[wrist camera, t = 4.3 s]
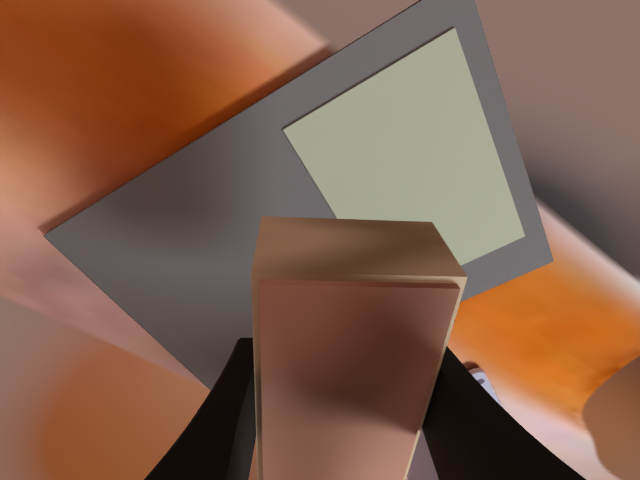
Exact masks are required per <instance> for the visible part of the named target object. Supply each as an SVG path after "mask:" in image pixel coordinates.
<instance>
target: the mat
mask: <svg viewBox="0 0 640 480" xmlns="http://www.w3.org/2000/svg"><path fill="white" fill-rule="evenodd" d="M261 216H274V217H303V218H332V219H361V220H390V221H419V222H432V223H433V224H434V226H435V227H436V229H437V230H438V232H439V233H440V235H441V237H442V238H443V240H444V241H445V243H446V244H447V246H448V247H449V249H450V250H451V252H452V253H453V255H454V257H455V258H456V260H457V261H458V263H459V264H460V266H461V267H462V269H463V270H464V272H465V273H466V275H467V277H468V278H467V281H466V284H465V287H464V291H463V294H462V297H461V301H464V300H466V299H468V298H470V297H473V296H475V295H477V294H480V293H482V292H484V291H486V290H489V289H491V288H493V287H496V286H498V285H500V284H503V283H505V282H507V281H509V280H512V279H514V278H516V277H519V276H521V275H523V274H526V273H528V272H530V271H532V270H535V269H537V268H539V267H542V266H544V265H546V264H549V263H551V262H553V257H552V254H551V251H550V248H549V244H548V241H547V238H546V234H545V231H544V228H543V225H542V221H541V218H540V215H539V211H538V208H537V205H536V202H535V198H534V195H533V192H532V188H531V185H530V183H529V178H528V175H527V172H526V169H525V165H524V162H523V159H522V156H521V152H520V149H519V146H518V142H517V139H516V136H515V133H514V129H513V126H512V123H511V119H510V116H509V113H508V109H507V106H506V103H505V100H504V96H503V93H502V90H501V86H500V83H499V80H498V77H497V73H496V70H495V67H494V64H493V60H492V57H491V54H490V50H489V47H488V44H487V40H486V37H485V34H484V31H483V27H482V24H481V21H480V17H479V14H478V11H477V7H476V4H475V1H474V0H419V1H418V2H416V3H415V4H413V5H412V6H410V7H408V8H407V9H405V10H403V11H402V12H400V13H398V14H397V15H395V16H394V17H392V18H391V19H389V20H388V21H386V22H384V23H383V24H381V25H379V26H378V27H376V28H374V29H373V30H371V31H370V32H368V33H367V34H365V35H363V36H362V37H360V38H358V39H357V40H355V41H354V42H352V43H350V44H349V45H347V46H346V47H344V48H342V49H341V50H339V51H337V52H336V53H334V54H333V55H331V56H329V57H328V58H326V59H325V60H323V61H321V62H320V63H318V64H317V65H315V66H313V67H312V68H310V69H309V70H307V71H305V72H304V73H302V74H301V75H299V76H297V77H296V78H294V79H293V80H291V81H289V82H288V83H286V84H285V85H283V86H281V87H280V88H278V89H276V90H275V91H273V92H272V93H270V94H268V95H267V96H265V97H264V98H262V99H260V100H259V101H257V102H256V103H254V104H252V105H251V106H249V107H248V108H246V109H244V110H243V111H241V112H240V113H238V114H236V115H235V116H233V117H232V118H230V119H228V120H227V121H225V122H224V123H222V124H220V125H219V126H217V127H215V128H214V129H212V130H211V131H209V132H207V133H206V134H204V135H203V136H201V137H199V138H198V139H196V140H195V141H193V142H191V143H190V144H188V145H187V146H185V147H183V148H182V149H180V150H179V151H177V152H175V153H174V154H172V155H171V156H169V157H167V158H166V159H164V160H162V161H161V162H159V163H158V164H156V165H154V166H153V167H151V168H150V169H148V170H146V171H145V172H143V173H142V174H140V175H138V176H137V177H135V178H134V179H132V180H130V181H129V182H127V183H126V184H124V185H122V186H121V187H119V188H118V189H116V190H114V191H113V192H111V193H110V194H108V195H106V196H105V197H103V198H101V199H100V200H98V201H97V202H95V203H93V204H92V205H90V206H89V207H87V208H85V209H84V210H82V211H81V212H79V213H77V214H76V215H74V216H73V217H71V218H69V219H68V220H66V221H65V222H63V223H61V224H60V225H58V226H57V227H55V228H53V229H52V230H50V231H49V232H47V233H46V234H45V235H44V237H45V238H46V239H47V240H48V241H49V242H50V243H51V244H52V245H53V246H54V247H56V248H57V249H58V250H59V251H60V252H61V253H62V254H63V255H64V256H65V257H66V258H67V259H69V260H70V261H71V262H72V263H73V264H74V265H75V266H76V267H77V268H78V269H79V270H81V271H82V272H83V273H84V274H85V275H86V276H87V277H88V278H89V279H90V280H91V281H92V282H94V283H95V284H96V285H97V286H98V287H99V288H100V289H101V290H102V291H103V292H104V293H106V294H107V295H108V296H109V297H110V298H111V299H112V300H113V301H114V302H115V303H116V304H117V305H119V306H120V307H121V308H122V309H123V310H124V311H125V312H126V313H127V314H128V315H129V316H131V317H132V318H133V319H134V320H135V321H136V322H137V323H138V324H139V325H140V326H141V327H142V328H144V329H145V330H146V331H147V332H148V333H149V334H150V335H151V336H152V337H153V338H154V339H155V340H157V341H158V342H159V343H160V344H161V345H162V346H163V347H164V348H165V349H166V350H167V351H169V352H170V353H171V354H172V355H173V356H174V357H175V358H176V359H177V360H178V361H179V362H180V363H182V364H183V365H184V366H185V367H186V368H187V369H188V370H189V371H190V372H191V373H192V374H194V375H195V376H196V377H197V378H198V379H199V380H200V381H201V382H202V383H203V384H204V385H205V386H207V387H208V388H209V389H210V390H212V388H213V386H214V385H215V383H216V381H217V380H218V378H219V376H220V375H221V373H222V371H223V369H224V367H225V365H226V364H227V362H228V360H229V358H230V356H231V354H232V352H233V349H234V347H235V345H236V342H237V340H238V339H240V338H253V320H252V287H251V269H252V264H253V258H254V253H255V248H256V242H257V237H258V232H259V226H260V221H261ZM461 301H460V302H461Z"/></svg>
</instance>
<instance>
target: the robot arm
mask: <svg viewBox="0 0 640 480" xmlns="http://www.w3.org/2000/svg"><path fill="white" fill-rule="evenodd" d="M255 439H256V416H255V384H254V352H253V338H240V339H238V340H237V342H236V345H235V347H234V349H233V352H232V354H231V356H230V358H229V360H228V362H227V364H226V365H225V367H224V369H223V371H222V373H221V375H220V376H219V378H218V380H217V381H216V383H215V385H214V386H213V388H212V390H211V391H210V393H209V395H208V397H207V398H206V400H205V401H204V403H203V404H202V405H201V407H200V408H199V410H198V412H197V413H196V415H195V416H194V417H193V419H192V420H191V422H190V423H189V424H188V426H187V427H186V429H185V430H184V431H183V433H182V434H181V435H180V437H179V438H178V439H177V441H176V442H175V443H174V444H173V446H172V447H171V448H170V450H169V451H168V452H167V453H166V454H165V456H164V457H163V458H162V459H161V460H160V462H159V463H158V464H157V465H156V466H155V467H154V469H153V470H152V471H151V472H150V473H149V474H148V476H147V477H146V478H145V479H144V480H248V478H249V472H250V467H251V462H252V456H253V450H254V444H255ZM407 479H408V480H586V479H585V478H583V477H582V476H581V475H579V474H578V473H577V472H576V471H574V470H573V469H572V468H570V467H569V466H568V465H567V464H565V463H564V462H563V461H561V460H560V459H559V458H558V457H557V456H555V455H554V454H553V453H552V452H550V451H549V450H548V449H547V448H546V447H545V446H543V445H542V444H541V443H540V442H539V441H538V440H537V439H535V438H534V437H533V436H532V435H531V434H530V433H529V432H527V431H526V430H525V429H524V428H523V427H522V426H521V425H520V424H519V423H518V422H517V421H516V420H515V419H514V418H513V417H512V416H511V415H509V414H508V413H507V412H506V411H505V410H504V409H503V408H502V406H501V404H500V402H499V400H498V398H497V396H496V394H495V392H494V390H493V388H492V386H491V384H490V382H489V380H488V378H487V376H486V374H485V372H484V371H483V369H481V368H474V369H471V370H467V369H466V368H465V366H464V365H463V364H462V363H461V362H460V361H459V360H458V358H457V357H456V356H455V355H454V354H453V353H452V351H451V350H450V349H449V348H448V347H447V346H446V350H445V353H444V356H443V360H442V363H441V366H440V369H439V373H438V376H437V379H436V383H435V386H434V389H433V392H432V396H431V399H430V402H429V405H428V409H427V412H426V415H425V419H424V422H423V425H422V428H421V432H420V435H419V438H418V442H417V445H416V448H415V451H414V455H413V458H412V461H411V464H410V468H409V471H408V474H407Z"/></svg>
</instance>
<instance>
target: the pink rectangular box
mask: <svg viewBox="0 0 640 480" xmlns="http://www.w3.org/2000/svg"><path fill="white" fill-rule="evenodd" d="M467 278H468V277H467V275H466V273H465V272H464V270H463V269H462V267H461V266H460V264H459V263H458V261H457V260H456V258H455V257H454V255H453V253H452V252H451V250H450V249H449V247H448V246H447V244H446V243H445V241H444V240H443V238H442V237H441V235H440V233H439V232H438V230H437V229H436V227H435V226H434V224H433V223H432V222H419V221H390V220H361V219H332V218H303V217H274V216H261V221H260V226H259V232H258V237H257V242H256V248H255V253H254V258H253V264H252V269H251V287H252V320H253V352H254V384H255V416H256V448H257V480H406V478H407V474H408V471H409V468H410V464H411V461H412V458H413V455H414V451H415V448H416V445H417V442H418V438H419V435H420V432H421V428H422V425H423V422H424V419H425V415H426V412H427V409H428V405H429V402H430V399H431V396H432V392H433V389H434V386H435V383H436V379H437V376H438V373H439V369H440V366H441V363H442V360H443V356H444V353H445V350H446V346H447V343H448V340H449V337H450V333H451V330H452V327H453V324H454V320H455V317H456V314H457V310H458V307H459V304H460V301H461V297H462V294H463V291H464V287H465V284H466V281H467Z"/></svg>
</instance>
